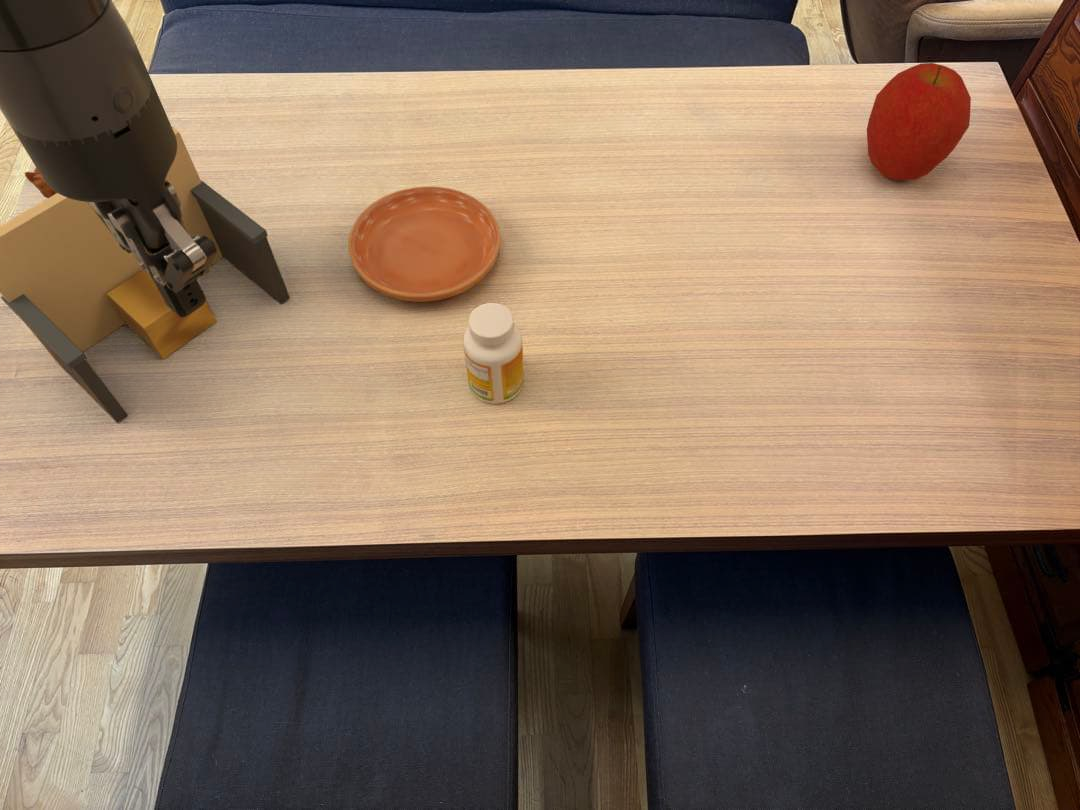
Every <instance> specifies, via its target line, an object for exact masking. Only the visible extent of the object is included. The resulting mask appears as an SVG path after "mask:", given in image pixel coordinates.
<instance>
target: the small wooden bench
mask: <svg viewBox="0 0 1080 810" xmlns="http://www.w3.org/2000/svg"><path fill="white" fill-rule="evenodd" d="M172 129H173V131H174V133H175V136H176V139H177V153H176V156H175V159H174V162H173V164H172V165H171V167H170V169H169V171H168V174H167V176H166V179H165V180H167V181H168V182H169V183H170V184H171V185H172V186H173V187H174V189H175V190H176V192H177V195H178V197H179V199H180V202H181V207H180V209H181V213H182V216H183V219H184V221H185V223H186V226H187V228H188V230H189V233H190V235H191V238H192V237H193V236H195V235H199V236H200V238H201V237H202V236H206V237H208V238H209V239H211V240H212V241H213V243H214V244H215V247H216V249H217V254H216V256H215V258H214V260H213V262H212V264H211V266H213V265H214V264H216V263H217V262H219V261H220V260H221V259H225V260H226V261H228V262H229V263H230V265H233V267H234V268H236V269H237V270H238V271H239V272H241V273H242V274H243V275H244V276H245V277H247V278H248V279H250V281H252V282H253V283H254V284H256V286H258V288H260V289H262V290H263V291H264V292H265V293H266V294H268V295H269V296H270V297H271V298H273V299H274V300H275V301H276V302H277V303H279V304H280V305H283V304H285V303H286V302H287V301H288V300H290V299H291V297H290V295H289V292H288V289H287V287H286V284H285V281H284V278H283V276H282V274H281V271H280V268H279V266H278V263H277V261H276V258H275V255H274V253H273V250H272V248H271V244H270V242H269V240H268V238H267V237H268V232H267V230H266V229H265V228H264V227H263V226H261V225H260V224H259V223H258V222H256V221H255V220H254V219H252V218H251V217H250V216H248V215H247V214H246V213H245V212H244V211H242V210H241V209H239V208H238V207H236V205H234V204H233V203H231V202H230V201H229V200H228V199H226V198H225V197H224V196H223V195H221V194H220V193H219V192H218V191H216V190H215V189H213V188H212V187H211V186H209V184H207V183H206V182H205V181H203V180H202V179H201V178H200V175H199V173H198V171H197V169H196V166H195V165H194V162H193V160H192V158H191V156H190V153H189V151H188V148H187V147H186V144H185V142H184V139H183V137H182V135H181V133H180V131H179V130H177V129H176V128H175V127H173V126H172ZM138 264H139V263H138V261H137V259H136V258H135V256H134V255H133V253H132V252H131V253H130V254H129V253H128V252H126V251H125V250H123V249H122V248H121V247H120V245H119V243H118V242H117V241H116V240H115V238H114V236H113V235H112V233H111V232H110V231H109V229H108V228H107V227H106V226H105V224H104V223H103V222H102V220H101V219H100V218H99V217H98V215H97V214H96V213H95V211H94V210H93V209H92V208H91V206H90V205H89V204H88V202H84V201H78V200H73V199H70V198H67V197H64V196H62V195H60V194H58V193H57V194H55V195H53V196H51V197H50V198H46V199H45V200H43V201H41V202H39V203H38V204H36V205H34V206H33V207H30V208H29V209H27V210H26V211H23V212H22V213H21V214H19V215H17V216H15V217H14V218H12V219H10V220H8V221H7V222H5V223H3V224H2V225H0V295H1V297H0V298H1V300H2V301H3V302H4V304H5V305H7V306H8V307H9V309H10V310H11V311H12V312H14V314H15V315H16V316H17V317H18V318H19V319H20V320H21V321H22V322H23V323H24V324H25V325H26V327H27V328H28V329H29V330H30V332H31V333H32V334H33V336H34V337H35V338H36V339H37V340H38V341H39V343H40V344H41V345H42V346H43V348H44V349H45V350H46V351H47V352H48V354H49V355H50V356H51V357H52V358H53V360H54V361H55V362H56V363H57V364H58V365H59V366H60V367H61V368H62V369H63V370H64V371H65V372H66V373H67V374H68V375H69V376H70V377H71V378H72V379H73V381H75V382H76V384H78V385H79V386H80V387H81V389H83V390H84V391H85V392H86V393H87V395H89V396H90V397H91V398H92V400H94V401H95V403H97V404H98V405H99V406H100V408H102V409H103V410H104V412H106V413H107V415H108V416H109V417H110V418H111V419H112V420H113V421H114V422H116V423H117V424H119V423H120V422H122V421H123V420H124V419H126V418H127V417H128V416H129V415H128V413H127V412H126V410H125V409H124V408H123V406H122V405H121V404H120V402H119V401H118V400H117V399H116V397H115V396H114V394H112V392H111V391H110V390H109V388H108V387H107V386H106V384H105V383H104V382H103V380H102V379H101V378H100V376H99V375H98V374H97V372H96V371H95V369H93V367H92V366H91V365H90V364H89V362H88V361H87V359H88V357H87V355H86V354H85V353H84V352H85V351H87V350H88V349H90V348H91V347H93V346H94V345H96V344H97V343H98V342H100V341H102V340H103V339H104V338H106V337H107V336H109V335H111V334H112V333H113V332H115V331H116V330H118V329H119V328H121V327H122V326H124V325H126V323H125V321H124V320H123V318H122V317H121V315H120V314H119V312H118V311H117V309H116V308H115V306H114V305H113V303H112V302H111V300H110V299H109V297H108V296H107V293H108V292H110V291H111V290H113V289H114V288H116V287H117V286H119V285H120V284H122V283H123V282H125V281H126V280H128V279H130V278H131V277H133V276H134V275H136V274H137V273H139V272H140V271H142V269H141V268H140V266H139V265H138Z"/></svg>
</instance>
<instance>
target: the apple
mask: <svg viewBox="0 0 1080 810" xmlns="http://www.w3.org/2000/svg"><path fill="white" fill-rule="evenodd" d="M971 103H972V98H971V95H970V92H969V90H968V88H967V86H966V84H965V82H964V79H963V77H962V76H961V75H960V74H959V73H958V72H957V71H956V70H955V69H953V68H950V67H948V66H946V65H944V64H939V63H934V62H923V63H918V64H916V65H913V66H911V67H909V68H907V69H904V70H902V71H900V72H898V73H897V74H896V75H894V76H893V77H892V78H891V79H890V80H889V81H888V82H887V83H886V84H885V85H884V86H883V88H881V90H880V91H879V92H878V93H877V94H876V96H875V98H874V101H873V105H872V109H871V111H870V115H869V117H868V122H867V126H866V142H867V156H868V159H869V160H870V164H871V165H872V166H873V167H874V168H875V169H876V170H877V171H878V172H879V173H880V175H882V176H883V178H886V179H888V180H891V181H900V182H901V181H903V182H905V181H913V180H918V179H920V178H923V177H924V176H927V175H928V174H929V173H930V172H932V171H933V170H934V169H935V168H937V166H939V164H941V163H942V162H943V161H944V160H945V159H946V158H947V157H948V156H950V154H951V153H952V152H953V151H954V150H955V149H956V148H957V146H958V144H959V143H960V141H961V139H962V138H963V137H964V135H965V134H966V132H967V131H968V129H969V127H970V121H971V105H972V104H971Z"/></svg>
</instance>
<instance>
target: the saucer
mask: <svg viewBox="0 0 1080 810" xmlns="http://www.w3.org/2000/svg"><path fill="white" fill-rule="evenodd" d="M493 214H494V213H492V211H491V210H490V209H489V208H488V207H487V206H486V205H485V204H484V203H483V202H481V201H480V200H479V199H477V198H476V197H474V196H472V195H471V194H468V193H466V192H464V191H461V190H457V189H454V188H449V187H442V186H433V185H431V186H415V187H409V188H405V189H401V190H397V191H394V192H391V193H389V194H386V195H385V196H383V197H381V198H379V199H377V200H375V201H374V202H372V203H371V204H369V205H368V206H367V207H366V208H365V209H364V210H363V211H362V212H361V213H360V214H359V216H358V217H357V218H356V219H355V221H354V222H353V225H352V227H351V229H350V232H349V236H348V242H347V243H348V244H347V250H348V255H349V258H350V262H351V264H352V266H353V268H354V270H355V271H356V273H357V275H358V276H359V278H360V279H361V280H362V281H363V282H364V283H365V284H366V285H368V286H369V287H370V288H372V289H374V291H376V292H378V293H380V294H382V295H384V296H387V297H389V298H392V299H395V300H399V301H405V302H412V303H413V302H418V303H420V302H421V303H425V302H427V303H428V302H435V301H442V300H445V299H449V298H452V297H455V296H457V295H460V294H462V293H464V292H466V291H467V290H469V289H471V288H472V287H474V286H475V285H477V284H478V283H480V282H481V280H483V278H485V277H486V276H487V274H488V273H489V272H490V270H491V269H492V268H493V266H494V264H495V263H496V260H497V258H498V254H499V250H500V245H501V244H500V243H501V233H500V232H501V231H500V228H499V225H498V221H497V220H496V218H495V216H494V215H493Z"/></svg>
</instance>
